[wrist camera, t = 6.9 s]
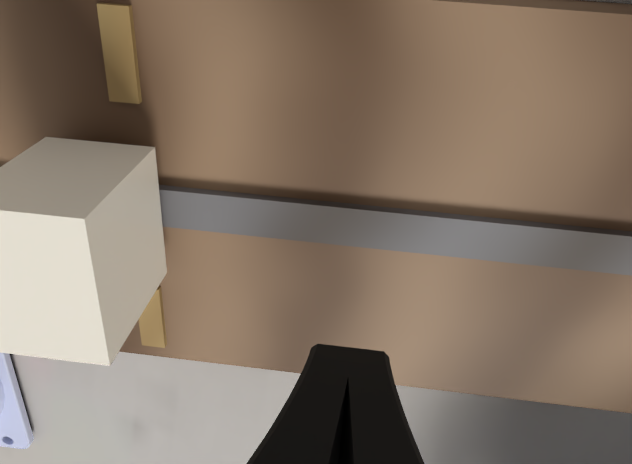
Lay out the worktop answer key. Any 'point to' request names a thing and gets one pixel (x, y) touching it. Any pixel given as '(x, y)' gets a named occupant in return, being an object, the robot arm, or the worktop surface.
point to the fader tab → (78, 248)
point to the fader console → (363, 177)
